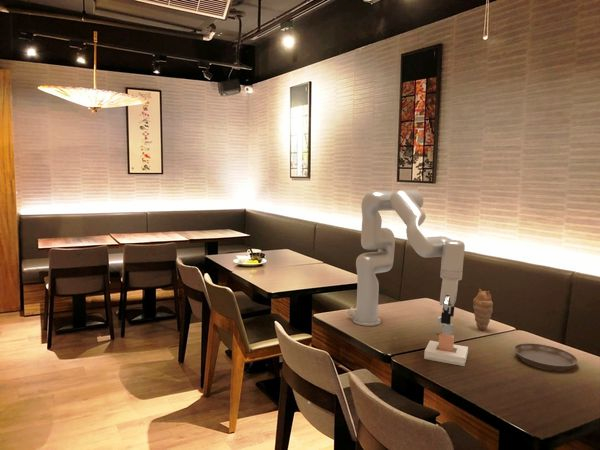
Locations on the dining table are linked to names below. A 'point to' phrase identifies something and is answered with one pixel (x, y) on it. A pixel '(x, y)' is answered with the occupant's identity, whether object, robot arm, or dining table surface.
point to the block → (446, 342)
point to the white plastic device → (446, 327)
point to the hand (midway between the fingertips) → (447, 319)
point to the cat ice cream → (482, 309)
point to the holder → (446, 354)
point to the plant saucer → (545, 357)
